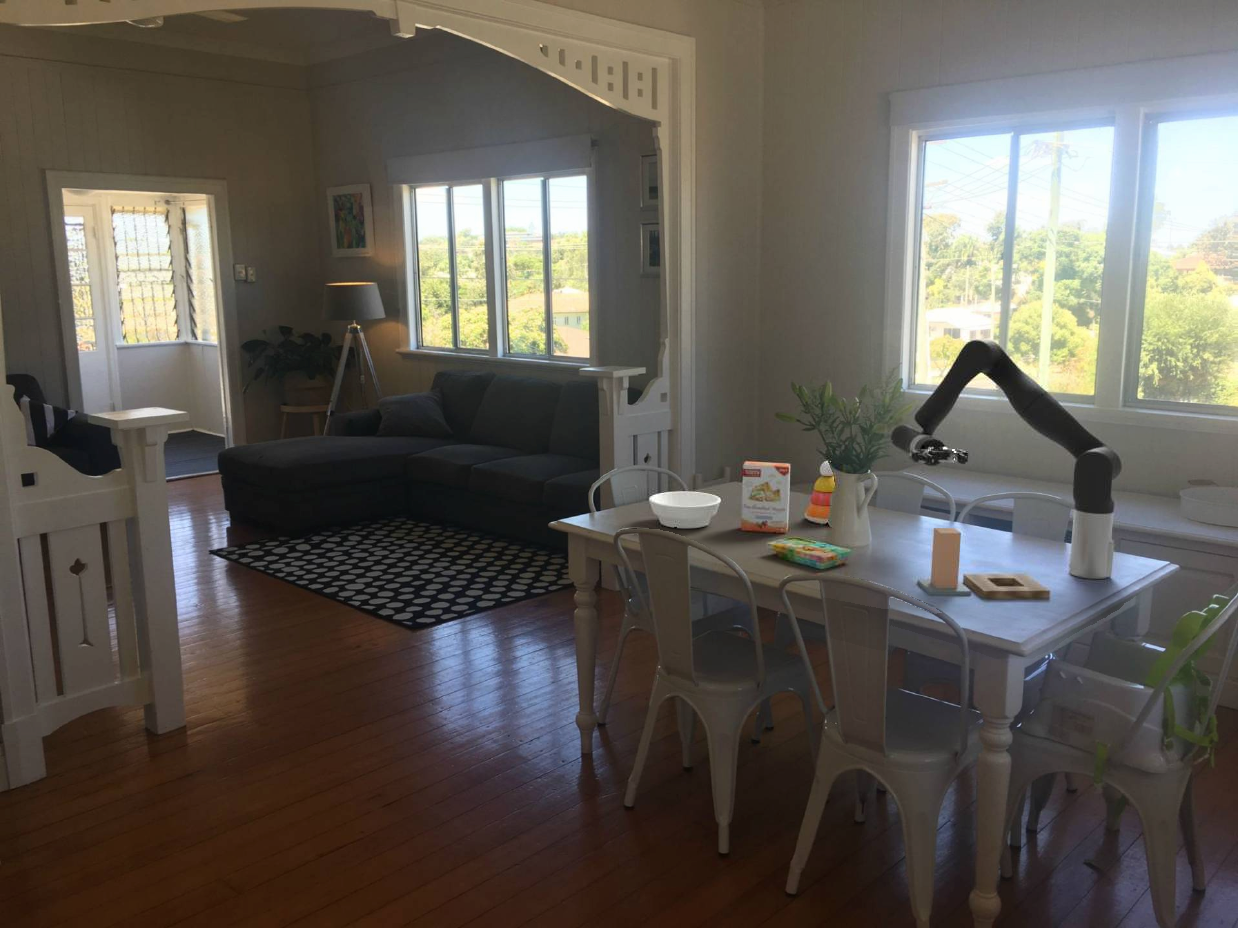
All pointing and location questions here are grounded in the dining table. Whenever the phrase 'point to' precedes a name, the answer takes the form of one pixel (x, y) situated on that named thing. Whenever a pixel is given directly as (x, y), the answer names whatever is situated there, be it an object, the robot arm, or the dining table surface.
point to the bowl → (684, 508)
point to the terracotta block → (945, 557)
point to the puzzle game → (809, 552)
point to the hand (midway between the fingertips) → (947, 460)
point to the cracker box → (765, 497)
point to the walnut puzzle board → (1018, 587)
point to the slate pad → (933, 590)
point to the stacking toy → (821, 496)
